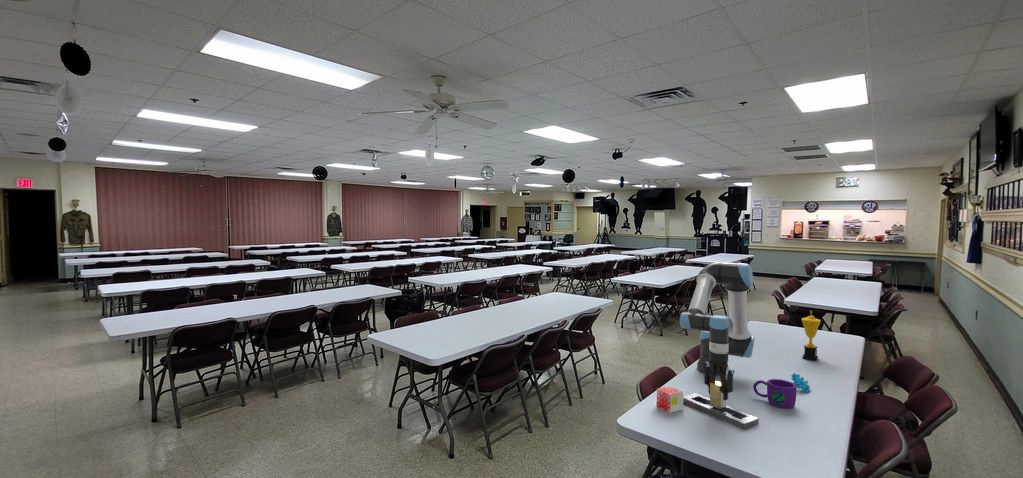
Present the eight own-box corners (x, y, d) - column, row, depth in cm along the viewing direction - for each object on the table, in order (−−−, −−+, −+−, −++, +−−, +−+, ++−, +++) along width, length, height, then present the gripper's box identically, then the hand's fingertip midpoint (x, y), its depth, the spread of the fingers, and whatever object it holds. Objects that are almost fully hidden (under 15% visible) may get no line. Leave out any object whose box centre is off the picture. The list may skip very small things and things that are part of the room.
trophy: (818, 364, 248) (819, 313, 247) (798, 360, 255) (799, 311, 254) (821, 356, 263) (822, 308, 262) (802, 353, 269) (803, 306, 268)
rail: (681, 402, 195) (681, 397, 195) (695, 398, 199) (695, 393, 199) (744, 429, 169) (744, 423, 168) (758, 424, 173) (758, 418, 173)
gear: (802, 391, 203) (789, 372, 209) (792, 397, 206) (780, 378, 213) (816, 391, 207) (803, 372, 214) (806, 396, 211) (794, 378, 217)
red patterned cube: (670, 412, 184) (670, 395, 184) (656, 406, 191) (656, 388, 191) (683, 409, 188) (683, 391, 188) (669, 402, 195) (669, 385, 195)
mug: (798, 404, 192) (799, 383, 192) (793, 412, 184) (793, 390, 184) (756, 394, 204) (756, 373, 204) (749, 400, 196) (749, 379, 196)
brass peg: (709, 405, 185) (710, 382, 184) (716, 403, 187) (716, 380, 187) (719, 409, 181) (719, 386, 180) (725, 406, 183) (726, 384, 183)
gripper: (695, 347, 189) (694, 399, 190) (732, 358, 174) (731, 414, 174) (706, 345, 193) (705, 395, 193) (743, 355, 177) (742, 410, 178)
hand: (717, 404), depth 184 cm, fingers closed on brass peg, 4 cm apart
